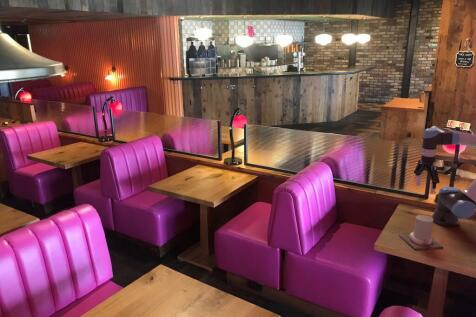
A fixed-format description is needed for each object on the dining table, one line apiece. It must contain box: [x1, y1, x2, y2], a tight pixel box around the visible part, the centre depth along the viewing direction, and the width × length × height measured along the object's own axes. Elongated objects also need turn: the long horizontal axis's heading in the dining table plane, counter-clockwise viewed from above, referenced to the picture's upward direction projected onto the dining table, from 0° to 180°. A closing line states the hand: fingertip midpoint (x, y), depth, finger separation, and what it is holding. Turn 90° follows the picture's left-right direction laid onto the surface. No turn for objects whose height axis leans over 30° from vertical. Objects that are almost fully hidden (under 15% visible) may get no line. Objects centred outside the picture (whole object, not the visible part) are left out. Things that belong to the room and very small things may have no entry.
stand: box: [398, 231, 444, 251], centre depth 230 cm, size 17×17×4 cm
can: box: [413, 214, 434, 240], centre depth 227 cm, size 9×9×12 cm
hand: (424, 189), depth 236 cm, fingers open, 13 cm apart
